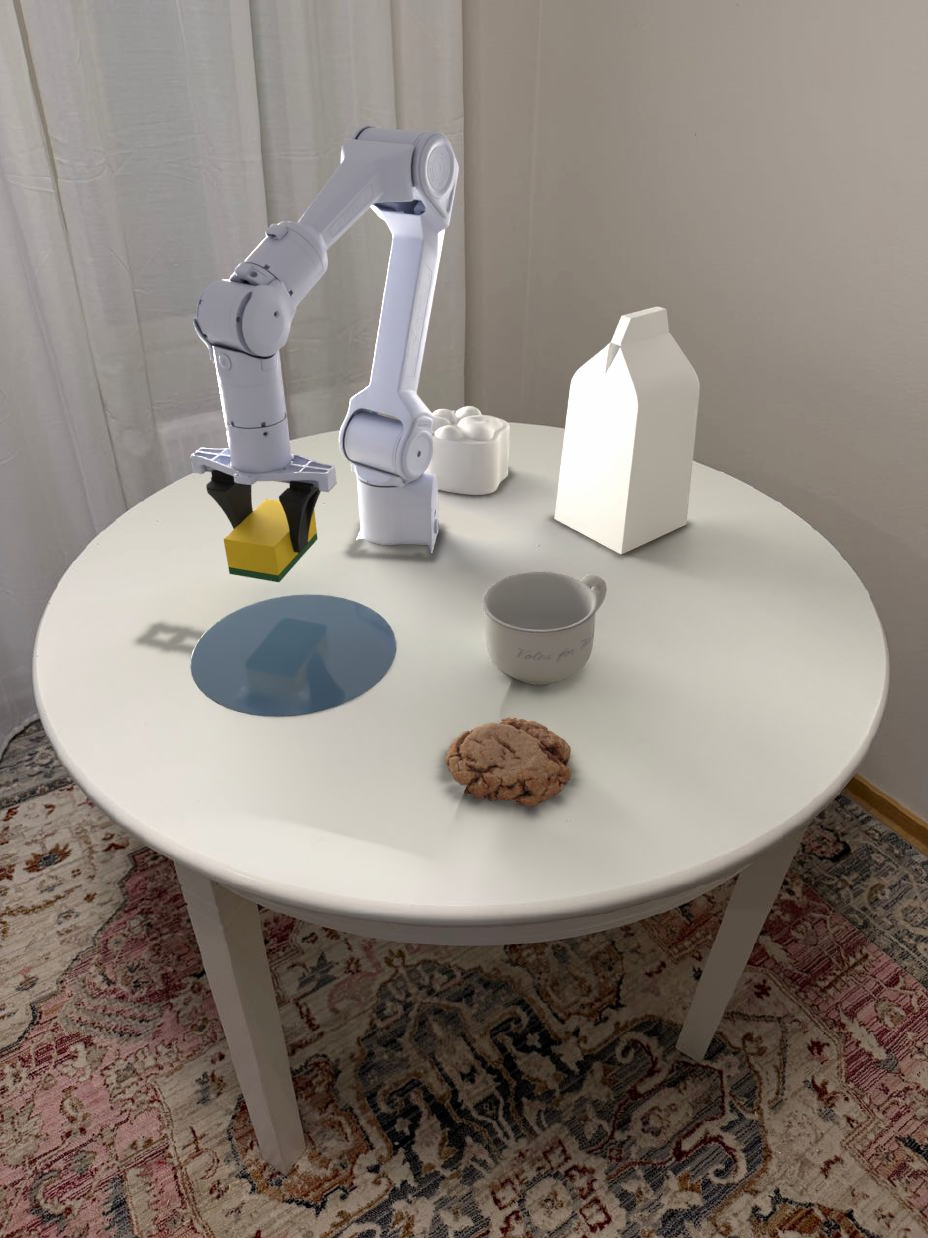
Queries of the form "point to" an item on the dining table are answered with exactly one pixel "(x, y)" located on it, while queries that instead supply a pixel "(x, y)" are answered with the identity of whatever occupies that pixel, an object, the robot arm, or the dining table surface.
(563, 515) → the milk
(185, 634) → the dining table surface
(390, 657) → the plate
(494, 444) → the lumpy-topped squat cylinder
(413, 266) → the robot arm
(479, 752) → the cookie
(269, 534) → the sponge
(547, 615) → the teacup
